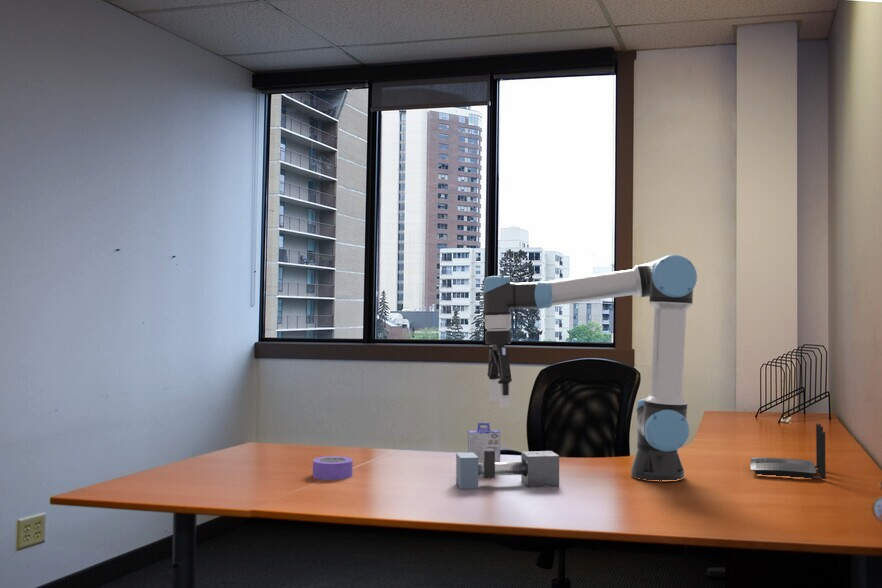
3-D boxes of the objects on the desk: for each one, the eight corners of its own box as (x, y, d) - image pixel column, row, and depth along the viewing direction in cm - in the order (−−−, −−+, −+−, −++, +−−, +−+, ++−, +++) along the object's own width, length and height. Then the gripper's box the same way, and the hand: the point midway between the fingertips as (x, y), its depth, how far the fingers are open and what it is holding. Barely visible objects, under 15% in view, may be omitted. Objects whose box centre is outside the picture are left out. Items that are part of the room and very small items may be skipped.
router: (750, 465, 262) (750, 419, 263) (820, 470, 255) (820, 422, 255) (750, 478, 243) (750, 428, 243) (825, 483, 235) (825, 431, 236)
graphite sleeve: (551, 480, 239) (551, 450, 239) (559, 486, 231) (559, 455, 231) (521, 481, 237) (521, 451, 238) (527, 487, 229) (527, 456, 230)
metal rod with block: (524, 473, 236) (524, 447, 236) (528, 477, 231) (528, 450, 231) (463, 475, 234) (463, 448, 234) (466, 478, 229) (466, 451, 229)
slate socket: (473, 482, 236) (473, 452, 236) (478, 488, 228) (478, 457, 228) (456, 483, 235) (456, 452, 235) (460, 489, 227) (460, 457, 227)
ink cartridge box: (499, 469, 255) (499, 422, 255) (500, 472, 249) (500, 425, 250) (467, 469, 255) (467, 422, 255) (468, 472, 249) (468, 425, 250)
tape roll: (360, 476, 246) (360, 459, 246) (330, 482, 237) (330, 464, 237) (335, 470, 254) (335, 454, 254) (304, 476, 245) (304, 459, 245)
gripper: (476, 329, 247) (478, 400, 247) (494, 331, 223) (496, 409, 222) (501, 328, 248) (502, 399, 248) (521, 330, 224) (523, 408, 223)
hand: (499, 404), depth 235 cm, fingers open, 13 cm apart
